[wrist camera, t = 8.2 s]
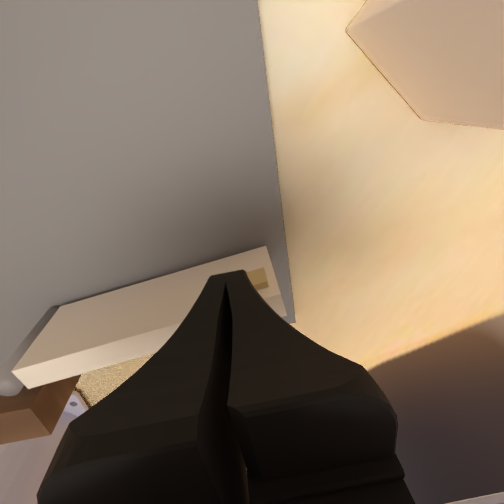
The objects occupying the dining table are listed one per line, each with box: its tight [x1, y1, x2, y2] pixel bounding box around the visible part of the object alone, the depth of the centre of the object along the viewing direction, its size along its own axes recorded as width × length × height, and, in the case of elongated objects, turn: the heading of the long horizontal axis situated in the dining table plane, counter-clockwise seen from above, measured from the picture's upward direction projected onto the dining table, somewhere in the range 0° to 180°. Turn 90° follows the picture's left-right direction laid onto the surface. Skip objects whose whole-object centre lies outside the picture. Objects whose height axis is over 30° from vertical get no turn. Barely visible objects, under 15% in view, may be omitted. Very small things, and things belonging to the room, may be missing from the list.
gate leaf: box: [0, 246, 287, 396], centre depth 15 cm, size 13×2×5 cm, turn 106°
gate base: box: [0, 0, 296, 369], centre depth 15 cm, size 20×22×1 cm
